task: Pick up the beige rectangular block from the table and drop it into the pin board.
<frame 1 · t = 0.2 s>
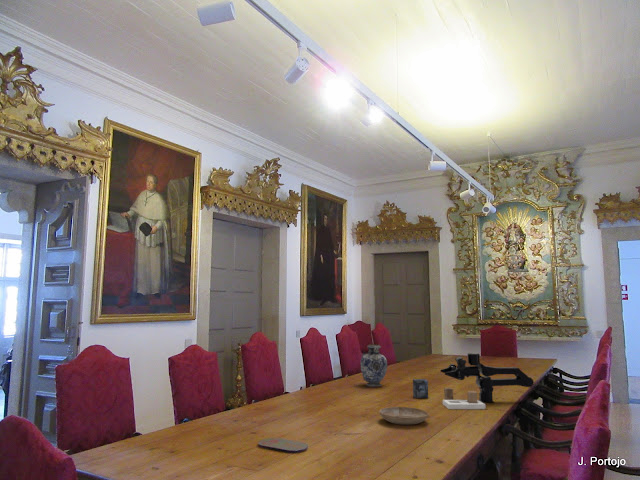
hand: (442, 372, 276), 17 cm above the table, tool horizontal, fingers open, 9 cm apart
beige rectangular block: (449, 402, 271), on the table
decorative vase: (374, 385, 326), on the table
ceramic bowl: (404, 422, 226), on the table
pin board: (463, 406, 260), on the table
box: (420, 397, 285), on the table
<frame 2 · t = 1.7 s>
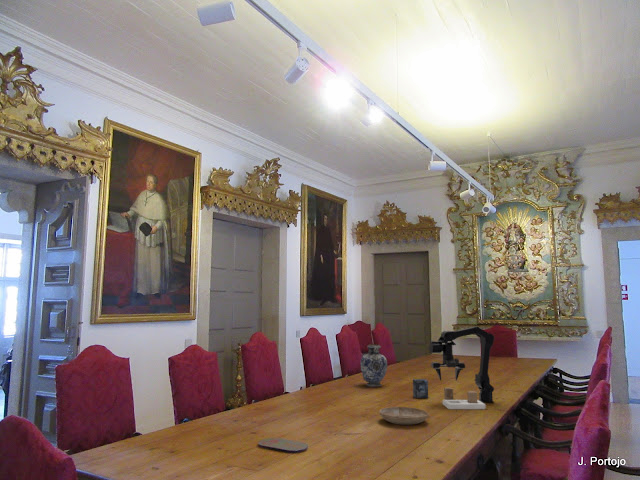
hand: (448, 380, 273), 12 cm above the table, tool pointing down, fingers open, 9 cm apart
nothing on the table moved.
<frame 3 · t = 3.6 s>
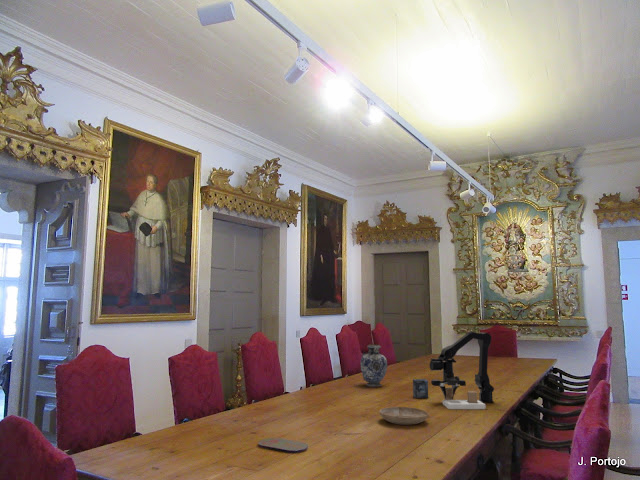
hand: (448, 398, 271), 3 cm above the table, tool pointing down, fingers closed on beige rectangular block, 4 cm apart
beige rectangular block: (449, 402, 271), on the table, touching gripper
everything else where it was.
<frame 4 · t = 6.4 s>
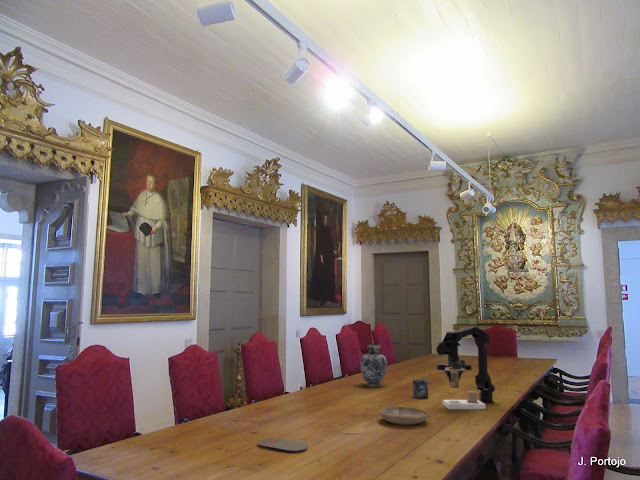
hand: (454, 382, 262), 13 cm above the table, tool pointing down, fingers closed on beige rectangular block, 4 cm apart
beige rectangular block: (454, 387, 261), point 10 cm above the table, touching gripper
everything else where it was.
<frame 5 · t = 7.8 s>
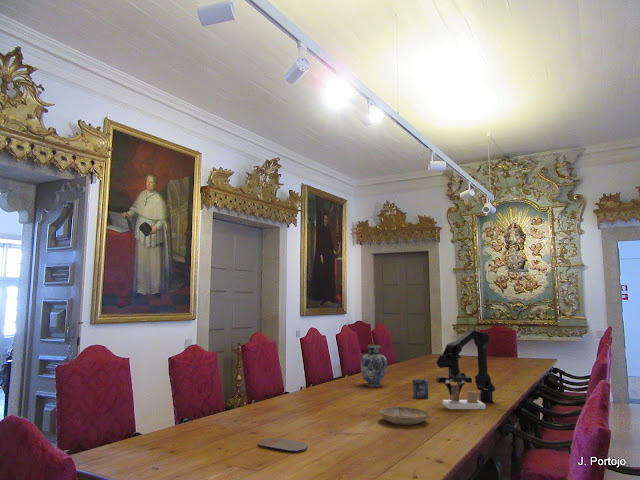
hand: (454, 395, 261), 6 cm above the table, tool pointing down, fingers closed on beige rectangular block, 4 cm apart
beige rectangular block: (454, 400, 260), point 3 cm above the table, touching gripper
everything else where it was.
when the fingers open (4 cm above the table, at t = 9.1 s): beige rectangular block drops 1 cm, resting in pin board.
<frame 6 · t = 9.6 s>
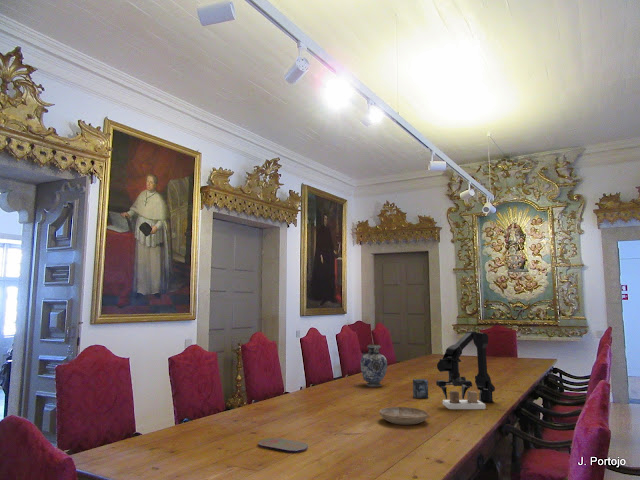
hand: (454, 399, 260), 4 cm above the table, tool pointing down, fingers open, 9 cm apart
beige rectangular block: (454, 406, 260), resting in pin board
everything else where it was.
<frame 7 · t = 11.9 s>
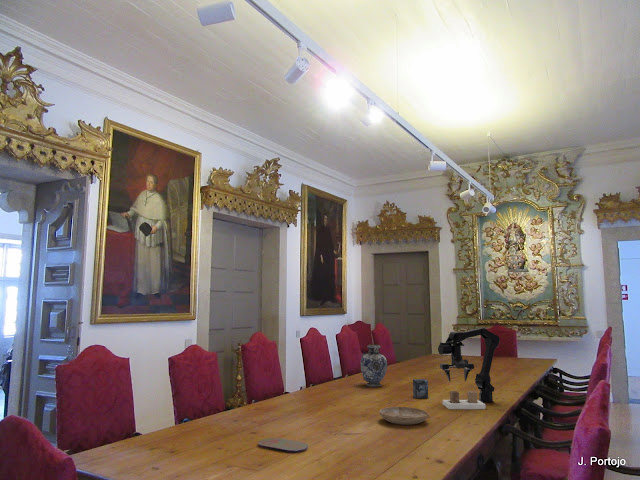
hand: (457, 381, 271), 12 cm above the table, tool pointing down, fingers open, 9 cm apart
nothing on the table moved.
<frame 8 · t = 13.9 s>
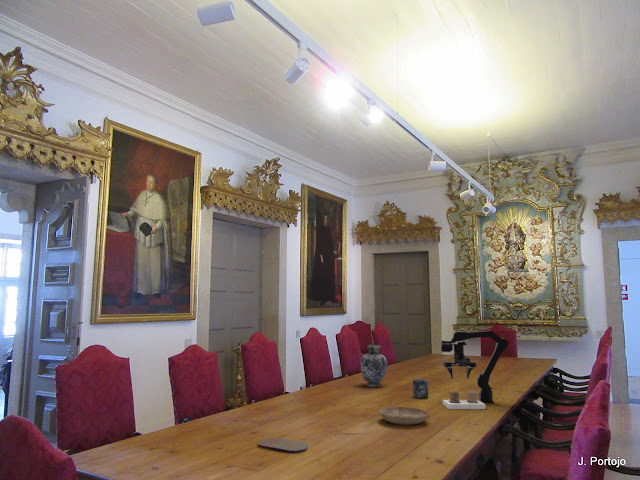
hand: (459, 379, 280), 12 cm above the table, tool pointing down, fingers open, 9 cm apart
nothing on the table moved.
at the end: beige rectangular block 0.0 cm from the target spot on the pin board, point 0.0 cm above the pin board's base; beige rectangular block tilted 0°; the gripper is holding nothing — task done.
